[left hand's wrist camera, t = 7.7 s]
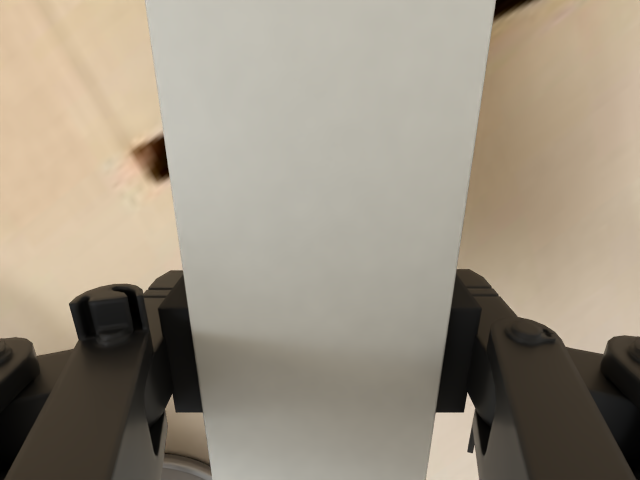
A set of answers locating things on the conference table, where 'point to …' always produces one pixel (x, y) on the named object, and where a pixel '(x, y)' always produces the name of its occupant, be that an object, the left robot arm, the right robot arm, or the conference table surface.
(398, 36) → the beam
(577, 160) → the conference table surface
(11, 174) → the conference table surface
